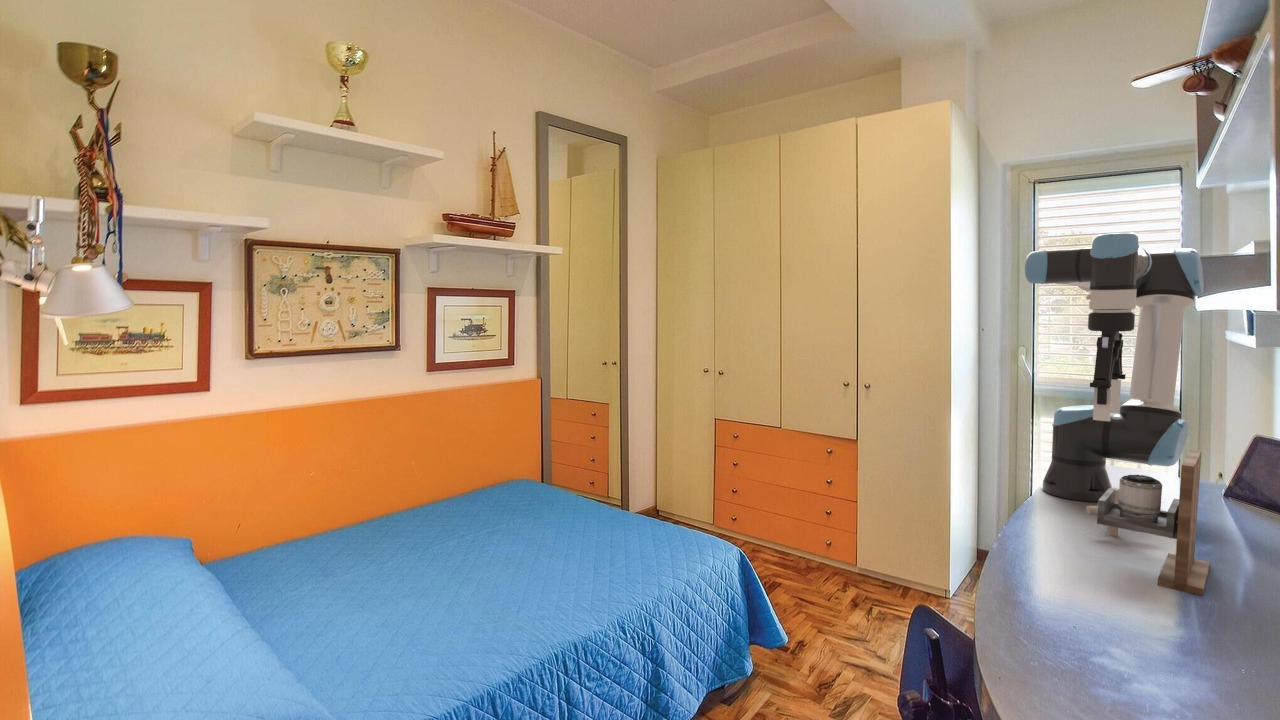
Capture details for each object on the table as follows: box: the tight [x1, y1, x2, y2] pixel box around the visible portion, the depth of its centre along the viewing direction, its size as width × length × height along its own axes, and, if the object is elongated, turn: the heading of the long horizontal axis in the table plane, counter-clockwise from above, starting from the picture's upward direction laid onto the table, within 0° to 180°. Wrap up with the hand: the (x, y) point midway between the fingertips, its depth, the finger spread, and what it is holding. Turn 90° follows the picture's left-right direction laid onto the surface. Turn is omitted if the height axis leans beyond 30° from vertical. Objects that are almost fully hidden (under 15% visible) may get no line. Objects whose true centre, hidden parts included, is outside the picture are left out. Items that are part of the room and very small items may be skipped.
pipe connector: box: [1085, 487, 1119, 537], centre depth 135 cm, size 10×10×10 cm
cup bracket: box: [1096, 449, 1211, 596], centre depth 117 cm, size 16×16×22 cm
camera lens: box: [1118, 474, 1163, 523], centre depth 118 cm, size 6×6×8 cm
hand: (1106, 415), depth 129 cm, fingers open, 13 cm apart
